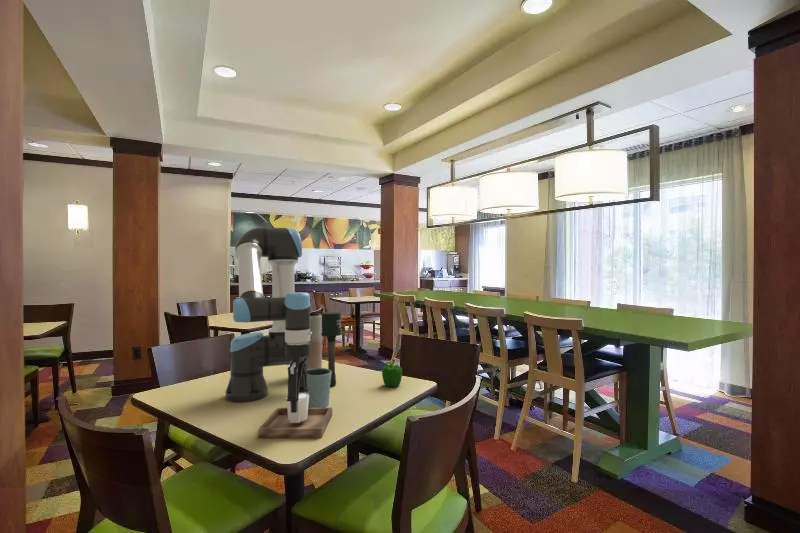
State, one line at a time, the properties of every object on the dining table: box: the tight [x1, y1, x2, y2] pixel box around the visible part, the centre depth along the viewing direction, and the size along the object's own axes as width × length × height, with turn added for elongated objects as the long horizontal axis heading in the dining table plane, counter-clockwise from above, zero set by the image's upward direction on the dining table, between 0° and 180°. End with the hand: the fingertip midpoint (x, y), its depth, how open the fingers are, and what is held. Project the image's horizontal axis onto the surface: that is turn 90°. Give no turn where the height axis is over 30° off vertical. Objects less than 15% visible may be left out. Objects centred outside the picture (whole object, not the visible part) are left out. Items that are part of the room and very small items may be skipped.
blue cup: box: [305, 367, 332, 408], centre depth 144 cm, size 10×10×12 cm
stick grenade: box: [321, 311, 343, 388], centre depth 168 cm, size 8×9×30 cm
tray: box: [257, 407, 333, 439], centre depth 125 cm, size 18×18×2 cm
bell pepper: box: [381, 361, 403, 388], centre depth 168 cm, size 8×8×10 cm
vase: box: [304, 312, 323, 369], centre depth 183 cm, size 10×10×28 cm
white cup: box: [285, 393, 309, 421], centre depth 125 cm, size 7×7×7 cm
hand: (297, 417), depth 125 cm, fingers closed on white cup, 7 cm apart
